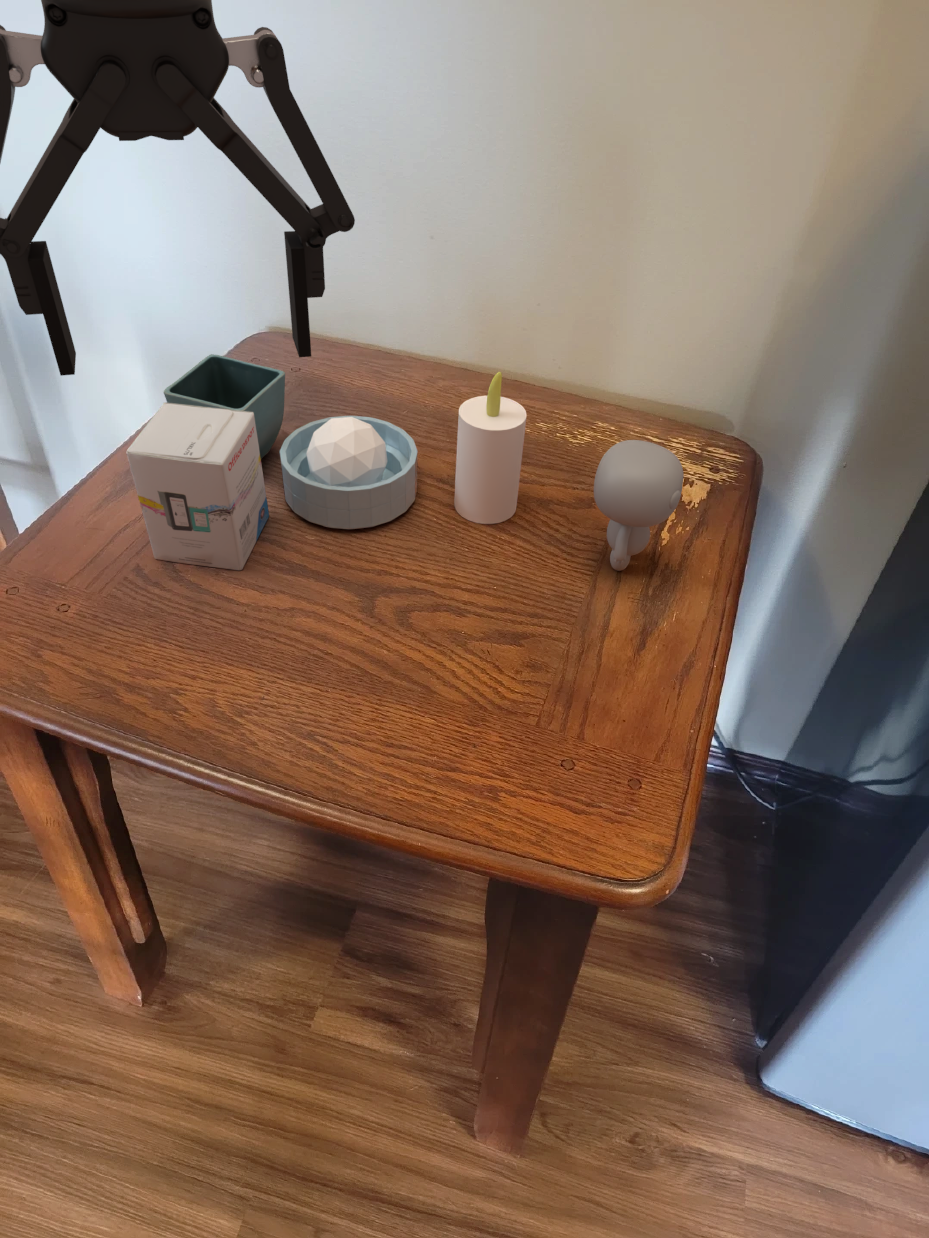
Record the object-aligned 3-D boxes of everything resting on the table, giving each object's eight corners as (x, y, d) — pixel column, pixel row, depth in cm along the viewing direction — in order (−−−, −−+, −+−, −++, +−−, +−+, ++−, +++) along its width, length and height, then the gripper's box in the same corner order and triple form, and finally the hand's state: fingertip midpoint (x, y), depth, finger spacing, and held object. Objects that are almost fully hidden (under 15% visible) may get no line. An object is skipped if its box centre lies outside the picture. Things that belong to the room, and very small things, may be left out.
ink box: (187, 505, 83) (163, 398, 75) (271, 516, 83) (257, 409, 75) (151, 560, 77) (122, 450, 69) (242, 572, 77) (223, 462, 68)
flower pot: (252, 490, 86) (241, 411, 79) (177, 470, 88) (160, 391, 81) (295, 447, 92) (287, 370, 86) (223, 429, 94) (211, 352, 87)
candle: (497, 480, 89) (510, 345, 79) (527, 515, 85) (544, 377, 74) (443, 493, 87) (448, 356, 77) (470, 530, 83) (480, 390, 72)
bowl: (257, 493, 85) (251, 450, 82) (352, 443, 93) (350, 402, 89) (349, 551, 79) (347, 507, 76) (443, 492, 87) (444, 450, 84)
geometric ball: (331, 505, 88) (300, 432, 86) (403, 478, 87) (373, 403, 86) (319, 515, 81) (285, 435, 79) (397, 484, 80) (364, 403, 78)
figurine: (655, 597, 77) (685, 487, 69) (573, 579, 78) (593, 469, 70) (664, 544, 83) (693, 437, 74) (588, 528, 84) (608, 421, 75)
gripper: (-251, -115, 31) (-47, 405, 46) (411, -80, 37) (404, 368, 52) (-200, -129, 36) (-32, 342, 51) (374, -96, 42) (378, 315, 57)
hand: (189, 356), depth 51 cm, fingers open, 13 cm apart
